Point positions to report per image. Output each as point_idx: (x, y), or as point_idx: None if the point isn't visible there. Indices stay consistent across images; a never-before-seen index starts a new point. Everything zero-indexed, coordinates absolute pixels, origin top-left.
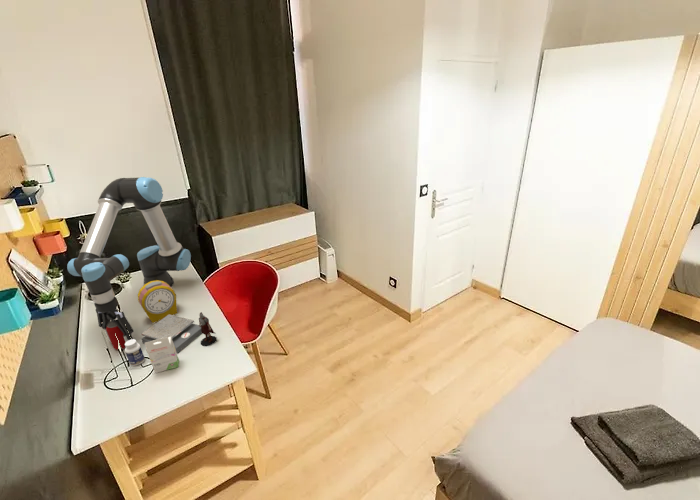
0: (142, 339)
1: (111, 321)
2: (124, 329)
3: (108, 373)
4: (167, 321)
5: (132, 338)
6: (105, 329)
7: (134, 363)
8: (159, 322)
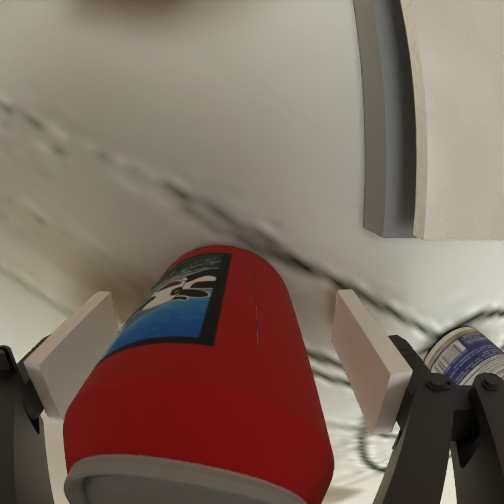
0: (399, 237)
1: (74, 496)
2: (465, 486)
3: (361, 454)
4: (478, 5)
5: (405, 341)
6: (51, 414)
7: None
8: (433, 16)
